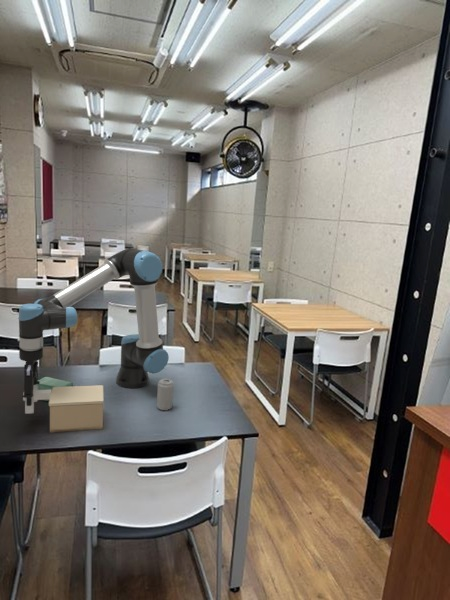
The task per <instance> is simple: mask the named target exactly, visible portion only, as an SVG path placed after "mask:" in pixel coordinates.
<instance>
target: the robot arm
mask: <svg viewBox="0 0 450 600" xmlns="http://www.w3.org/2000/svg"><path fill="white" fill-rule="evenodd" d="M162 273H163V263H162V260H161V259H160V257H159V255H157V254H155V253H154V252H151V251H148V250H142V249H136V248H132V247H131V248H125V249H122V250H121V251H118V252H117V253H115V254H113V255H112V256H110V257H108V258H107V259H105V260H104V261H103V264H101V265H99V266H98V267H97V268H95V269H93V270H91V271H90V272H88V273H87V274H85V275H83V276H82V277H80V278H78V279H77V280H75V281H73V282H72V283H70V284H69V285H66V287H64V288H62V289H61V290H59V291H57V292H56V293H54V294H53V295H50V296H49V297H47V298H39V299H37V300H35V301H34V302H33V303H24V304H22V305H20V306H19V308H18V309H19V310H18V329H19V330H18V338H17V342H19V343H18V344H19V345H18V346H19V350H18V351H19V352H18V355H19V357H18V359H20V361H23V362H25V364H24V366H23V369H24V370H23V373H24V380H23V381H24V385H23V393H24V395H23V394H22V398H23V397H24V398H25V401H24V414H34V413H35V403H37V402H38V401H39V400H34V395H33V390H38V388H37V385H36V384H40V381H38V380H39V362H38V361H40V360H42V359H43V357H44V356H43V355H44V348H43V347H44V331H50V330H57V329H59V330H60V329H68V328H72V327H75V326H76V325H77V323H78V313H77V310H76V308H74V307H73V305H75V304H77V303H79V302H80V301H81V300H83V299H84V298H87V296H89V295H91V294H92V293H94V292H95V291H97V290H99V289H101V288H102V287H104V286H105V285H106V284H108V283H111V281H113V280H119V279H121V278H122V277H125V276H129V283H130V284H129V285H131V286H132V287H133V288H134V296H135V297H134V298H135V299H134V300H135V310H136V320H137V332H138V334H134V333H133V334H127V335H124V336H123V337H121V342H120V345H121V347H120V348H121V350H120V367H119V369H118V372H117V375H116V378H115V379H116V380H115V382H116V384H117V385H118V386H119V387H122V388H126V389H140V388H143V387H145V386H147V385H148V384H149V374H153V375H154V374H158V373H160V372H162V371H163V370H164V369H165V368H166V366H167V365H168V362H169V358H170V357H169V354H168V352H167V350H165V349H164V343H163V339H162V338H160V336H159V335H160V334H159V325H158V324H159V323H158V321H159V320H158V310H157V300H156V299H157V297H156V285H158V283H159V278H161V275H162ZM148 373H149V374H148Z"/></svg>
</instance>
